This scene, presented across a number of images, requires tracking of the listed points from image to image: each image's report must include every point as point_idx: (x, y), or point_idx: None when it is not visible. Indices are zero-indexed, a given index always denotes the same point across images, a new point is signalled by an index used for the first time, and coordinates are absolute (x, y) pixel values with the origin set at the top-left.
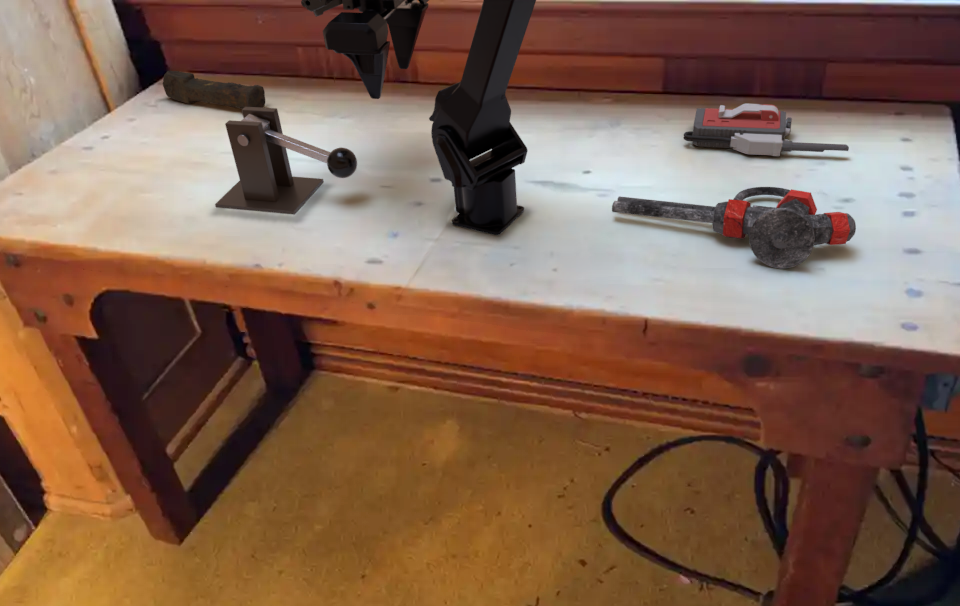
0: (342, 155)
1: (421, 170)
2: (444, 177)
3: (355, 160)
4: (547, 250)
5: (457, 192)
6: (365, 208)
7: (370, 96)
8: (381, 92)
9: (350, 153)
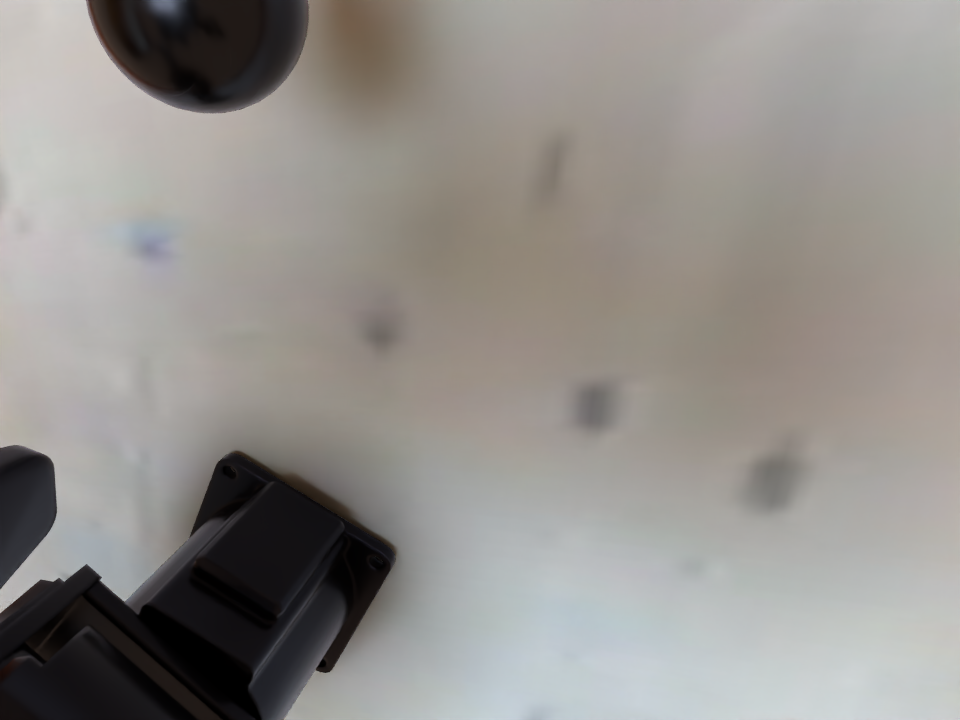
0: (101, 38)
1: (717, 343)
2: (85, 565)
3: (193, 111)
4: None
5: (201, 546)
6: (340, 87)
7: (2, 450)
8: (4, 573)
9: (162, 88)
